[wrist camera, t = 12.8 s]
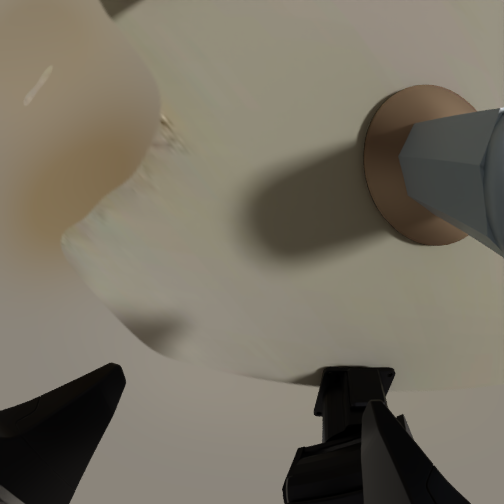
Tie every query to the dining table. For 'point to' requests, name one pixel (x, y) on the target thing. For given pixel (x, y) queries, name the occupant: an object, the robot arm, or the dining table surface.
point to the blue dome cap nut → (460, 172)
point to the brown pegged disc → (388, 165)
